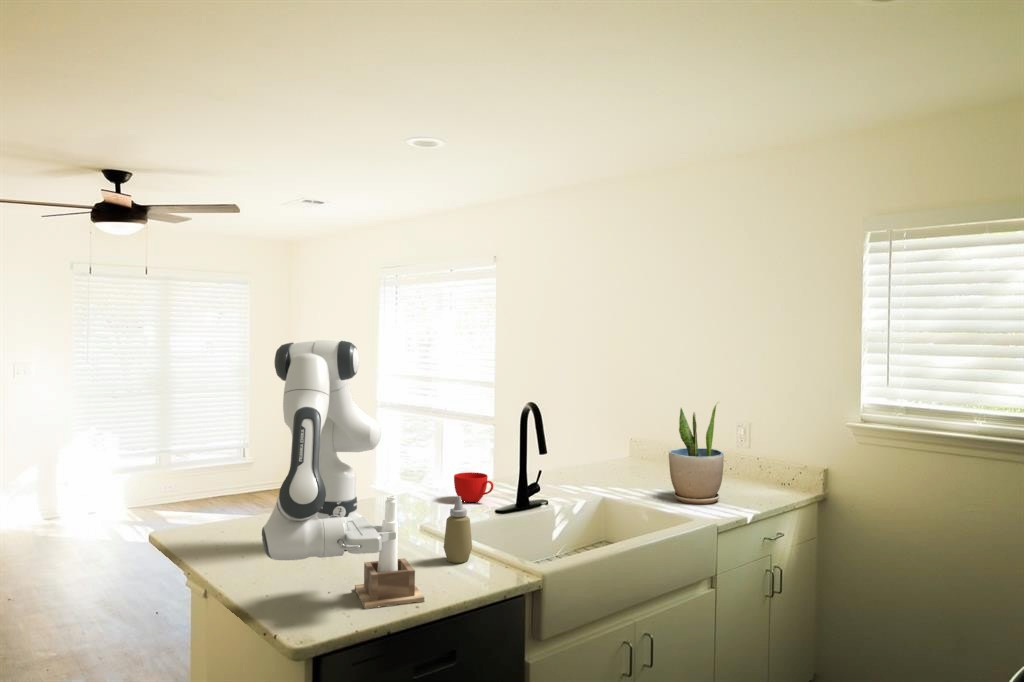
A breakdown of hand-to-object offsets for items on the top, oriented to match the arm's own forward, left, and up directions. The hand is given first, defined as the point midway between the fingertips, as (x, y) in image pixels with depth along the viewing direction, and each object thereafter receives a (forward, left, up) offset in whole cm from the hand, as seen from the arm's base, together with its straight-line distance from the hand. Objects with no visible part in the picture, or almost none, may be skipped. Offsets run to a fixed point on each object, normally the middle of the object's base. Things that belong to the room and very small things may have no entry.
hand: (393, 532), depth 175 cm
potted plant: (-65, +135, -15) cm, 151 cm away
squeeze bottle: (-21, +23, -15) cm, 35 cm away
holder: (0, -1, -15) cm, 15 cm away
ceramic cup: (-89, +51, -15) cm, 104 cm away
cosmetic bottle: (0, -1, -13) cm, 14 cm away
